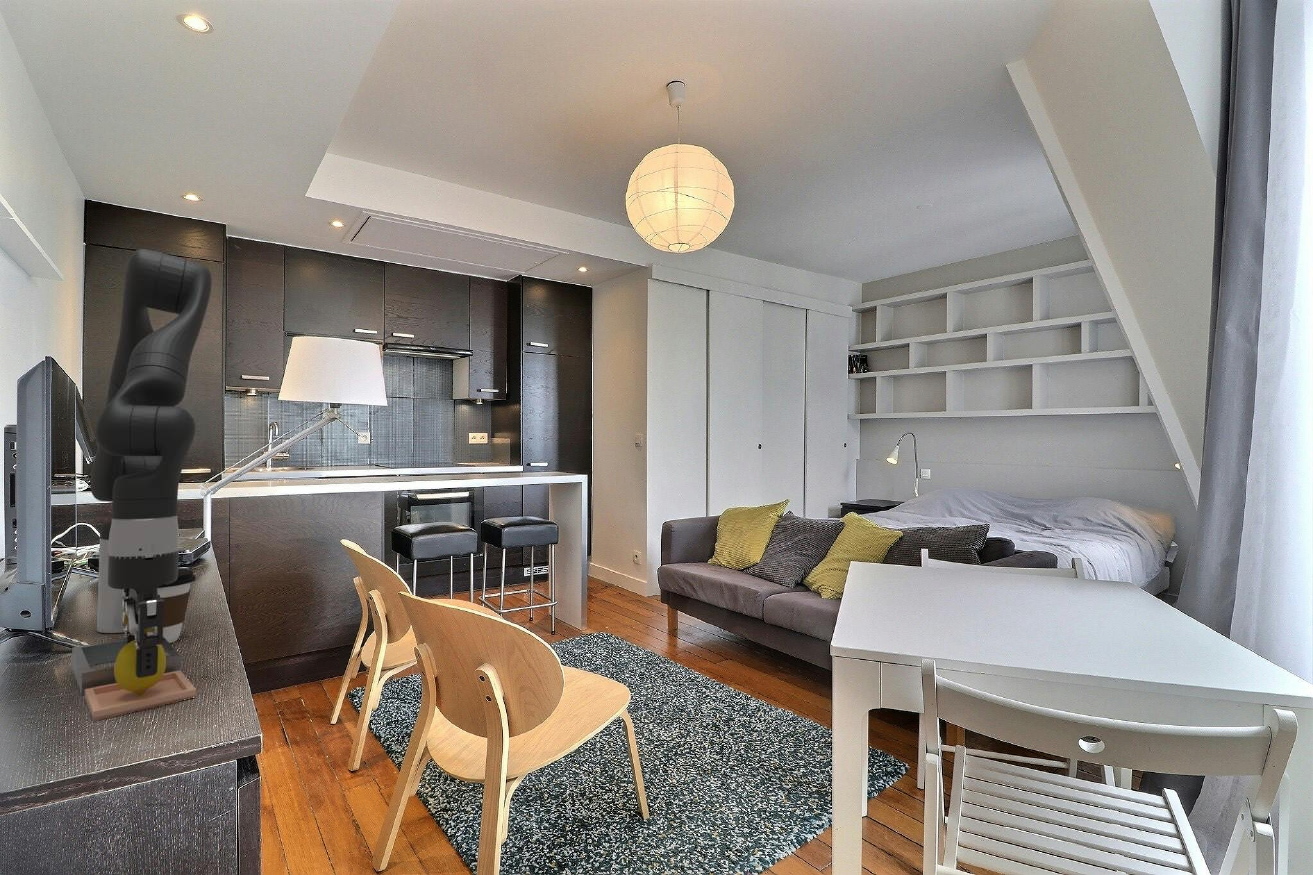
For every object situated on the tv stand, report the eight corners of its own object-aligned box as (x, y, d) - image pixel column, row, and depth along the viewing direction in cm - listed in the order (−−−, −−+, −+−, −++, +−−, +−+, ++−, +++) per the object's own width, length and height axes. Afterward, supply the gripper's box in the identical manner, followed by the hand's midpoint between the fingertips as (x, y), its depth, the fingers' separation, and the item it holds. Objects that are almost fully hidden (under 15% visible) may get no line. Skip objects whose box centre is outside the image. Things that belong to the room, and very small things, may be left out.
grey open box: (71, 667, 98) (71, 647, 98) (160, 651, 106) (160, 633, 106) (81, 695, 87) (82, 673, 87) (179, 675, 95) (180, 655, 95)
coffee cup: (184, 647, 108) (185, 577, 109) (104, 654, 104) (106, 582, 105) (202, 630, 119) (203, 566, 119) (130, 636, 114) (132, 570, 115)
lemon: (136, 704, 83) (137, 643, 84) (102, 700, 84) (103, 640, 85) (176, 688, 89) (176, 631, 89) (144, 685, 90) (144, 629, 90)
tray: (84, 698, 86) (84, 689, 86) (180, 678, 94) (180, 670, 94) (93, 721, 79) (93, 711, 79) (195, 697, 87) (196, 689, 87)
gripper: (102, 546, 89) (98, 662, 89) (115, 559, 79) (112, 689, 79) (168, 541, 95) (165, 650, 94) (188, 552, 85) (185, 674, 84)
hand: (141, 667), depth 87 cm, fingers open, 8 cm apart
